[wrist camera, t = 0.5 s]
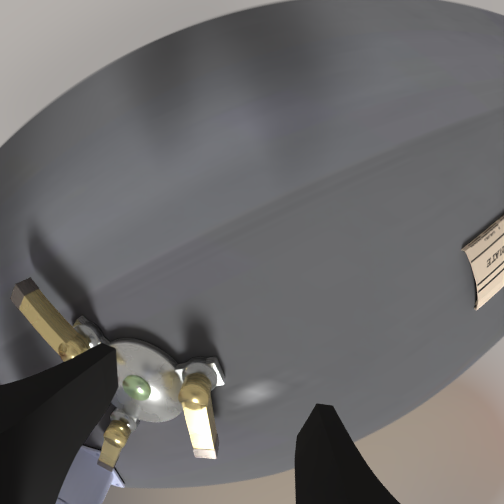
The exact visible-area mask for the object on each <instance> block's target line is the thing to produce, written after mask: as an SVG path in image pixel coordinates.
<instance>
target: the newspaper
mask: <svg viewBox="0 0 504 504" xmlns="http://www.w3.org/2000/svg"><path fill="white" fill-rule="evenodd" d="M461 250H463V251H465V252H466V254H467V257H468V259H469V261H470V264H471V267H472V270H473V273H474V277H475V281H476V285H477V295H478V299H477V301H476V303H475V305H477V306H476V307H475V308H474V309H475V310H478V309H479V308H480V307H481V306H482V305H483V304H485V303H486V302H487V301H488V300H489V299H490V298H491V297H492V296H493V295H495V294H496V293H497V292H498V291H499V290H500V289H501V288H502V287H503V286H504V215H503V216H501V217H500V218H499V219H498V220H497V221H496V222H495V223H493V224H492V225H491V226H490V227H489V228H487V229H486V230H485V231H484V232H483V233H481V234H480V235H479V236H478V237H476V238H475V239H474V240H473V241H471V242H470V243H469V244H468V245H466V246H465V247H464V248H462V249H461Z"/></svg>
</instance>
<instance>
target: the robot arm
mask: <svg viewBox="0 0 504 504" xmlns="http://www.w3.org/2000/svg"><path fill="white" fill-rule="evenodd" d="M118 387H119V386H118V373H117V356H116V348H114V347H111V346H109V345H106V344H104V343H100V344H98V345H96V346H94V347H92V348H90V349H88V350H87V351H85V352H83V353H81V354H79V355H77V356H75V357H73V358H71V359H69V360H67V361H65V362H63V363H61V364H59V365H57V366H54V367H52V368H50V369H48V370H45V371H43V372H40V373H38V374H36V375H33V376H31V377H28V378H25V379H22V380H19V381H15V382H12V383H8V384H4V385H0V504H102V503H103V500H104V498H105V496H106V494H107V492H108V489H109V487H110V485H111V484H112V485H115V486H119V487H122V488H123V487H124V486H125V485H124V483H123V482H122V480H121V478H120V477H119V475H118V474H117V472H116V471H115V469H113V471H112V472H110V471H108V470H106V469H105V468H103V467H101V466H99V465H97V462H98V459H99V457H100V453H101V451H99V450H96V449H93V448H90V447H86V446H83V443H84V442H85V440H86V439H87V438H88V436H89V435H90V433H91V432H92V430H93V429H94V427H95V426H96V425H97V423H98V422H99V420H100V419H101V417H102V416H103V414H104V413H105V411H106V410H107V408H108V407H109V405H110V403H111V401H112V399H113V397H114V395H115V393H116V391H117V389H118ZM295 489H296V504H400V503H399V502H398V501H397V500H396V499H395V498H394V497H393V496H392V495H391V494H390V492H389V491H388V490H387V489H386V488H385V487H384V486H383V484H382V483H381V482H380V481H379V480H378V479H377V477H376V476H375V474H374V473H373V472H372V470H371V469H370V467H369V466H368V465H367V463H366V462H365V460H364V459H363V457H362V456H361V454H360V452H359V451H358V449H357V448H356V446H355V444H354V443H353V441H352V439H351V437H350V436H349V434H348V432H347V430H346V429H345V427H344V425H343V423H342V421H341V420H340V418H339V416H338V414H337V412H336V411H335V409H334V407H333V406H331V405H324V404H316V405H315V407H314V409H313V411H312V412H311V414H310V416H309V417H308V419H307V421H306V422H305V424H304V426H303V427H302V429H301V430H300V432H299V434H298V435H297V441H296V450H295Z"/></svg>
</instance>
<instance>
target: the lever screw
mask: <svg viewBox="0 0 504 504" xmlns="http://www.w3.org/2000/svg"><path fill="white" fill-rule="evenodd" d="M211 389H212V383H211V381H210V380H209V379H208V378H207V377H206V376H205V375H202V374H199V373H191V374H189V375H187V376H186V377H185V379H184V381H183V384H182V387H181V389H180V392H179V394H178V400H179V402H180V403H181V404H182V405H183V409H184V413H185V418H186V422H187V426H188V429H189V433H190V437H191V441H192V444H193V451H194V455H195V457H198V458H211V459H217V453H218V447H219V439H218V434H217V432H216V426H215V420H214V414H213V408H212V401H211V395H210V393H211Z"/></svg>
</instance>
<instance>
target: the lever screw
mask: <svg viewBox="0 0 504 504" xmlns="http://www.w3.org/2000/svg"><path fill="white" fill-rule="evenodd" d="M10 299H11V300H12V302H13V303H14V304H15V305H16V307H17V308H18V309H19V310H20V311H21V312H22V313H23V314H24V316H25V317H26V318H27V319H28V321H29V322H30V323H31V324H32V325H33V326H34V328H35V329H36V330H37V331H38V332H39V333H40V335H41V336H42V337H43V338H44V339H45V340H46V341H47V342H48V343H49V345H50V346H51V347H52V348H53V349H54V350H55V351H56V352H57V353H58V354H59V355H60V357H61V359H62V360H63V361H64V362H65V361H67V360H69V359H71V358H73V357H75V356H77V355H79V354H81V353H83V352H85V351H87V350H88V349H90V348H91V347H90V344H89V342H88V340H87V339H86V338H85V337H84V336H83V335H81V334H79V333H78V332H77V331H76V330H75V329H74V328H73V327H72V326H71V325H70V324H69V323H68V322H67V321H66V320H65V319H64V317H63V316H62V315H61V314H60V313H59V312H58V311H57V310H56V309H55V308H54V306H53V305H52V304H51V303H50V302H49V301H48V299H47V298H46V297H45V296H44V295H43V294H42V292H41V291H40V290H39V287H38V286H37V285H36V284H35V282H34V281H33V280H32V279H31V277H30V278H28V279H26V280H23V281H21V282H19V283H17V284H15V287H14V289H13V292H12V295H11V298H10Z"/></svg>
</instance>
